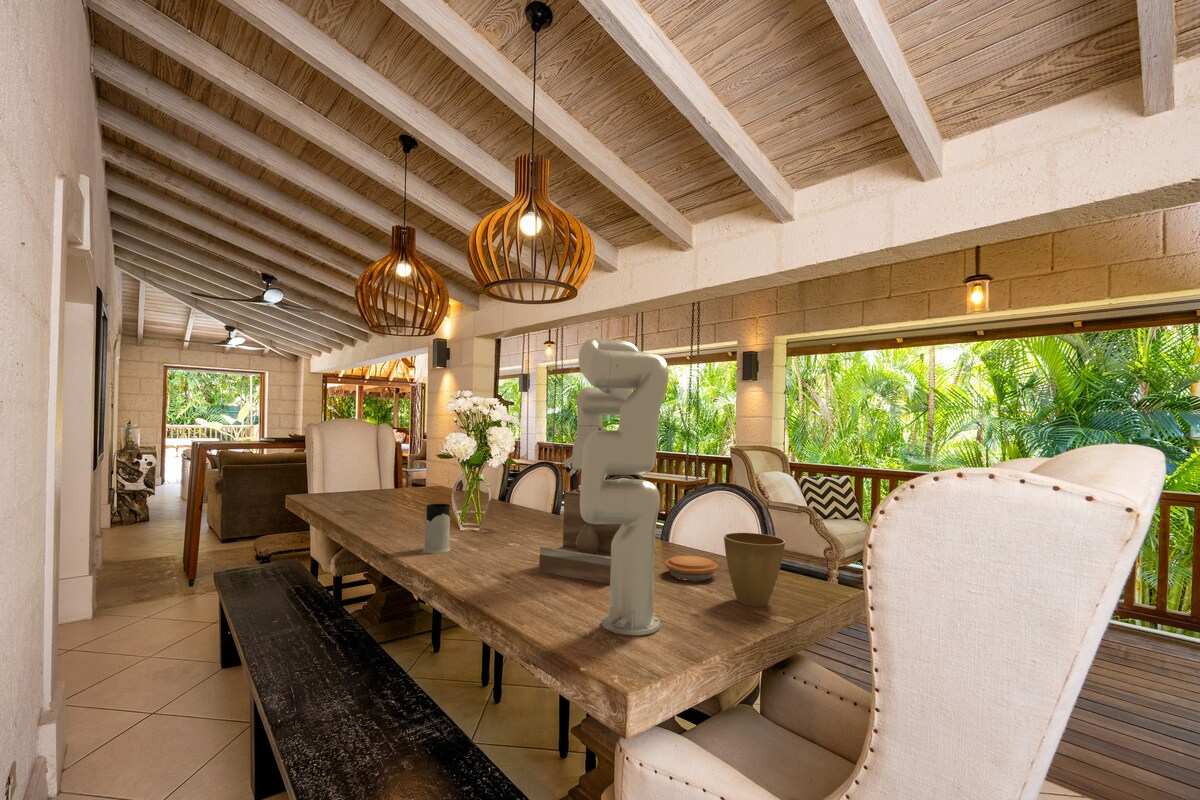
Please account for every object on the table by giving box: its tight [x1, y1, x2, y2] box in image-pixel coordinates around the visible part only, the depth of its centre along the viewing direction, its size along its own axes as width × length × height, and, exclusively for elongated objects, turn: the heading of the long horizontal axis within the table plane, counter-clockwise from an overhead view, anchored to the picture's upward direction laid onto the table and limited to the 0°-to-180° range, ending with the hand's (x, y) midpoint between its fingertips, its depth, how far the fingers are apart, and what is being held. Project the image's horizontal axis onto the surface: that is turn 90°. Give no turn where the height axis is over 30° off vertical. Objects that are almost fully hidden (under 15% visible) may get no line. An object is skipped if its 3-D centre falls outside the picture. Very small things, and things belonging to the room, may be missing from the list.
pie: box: [664, 555, 719, 581], centre depth 164 cm, size 15×16×5 cm
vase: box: [576, 525, 599, 555], centre depth 164 cm, size 7×7×9 cm
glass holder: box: [422, 503, 451, 555], centre depth 190 cm, size 9×14×15 cm, turn 41°
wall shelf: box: [538, 490, 622, 585], centre depth 165 cm, size 14×24×22 cm, turn 61°
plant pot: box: [723, 532, 786, 607], centre depth 141 cm, size 15×15×16 cm
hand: (588, 490), depth 165 cm, fingers open, 9 cm apart
